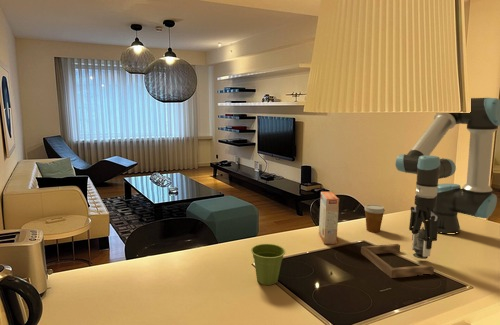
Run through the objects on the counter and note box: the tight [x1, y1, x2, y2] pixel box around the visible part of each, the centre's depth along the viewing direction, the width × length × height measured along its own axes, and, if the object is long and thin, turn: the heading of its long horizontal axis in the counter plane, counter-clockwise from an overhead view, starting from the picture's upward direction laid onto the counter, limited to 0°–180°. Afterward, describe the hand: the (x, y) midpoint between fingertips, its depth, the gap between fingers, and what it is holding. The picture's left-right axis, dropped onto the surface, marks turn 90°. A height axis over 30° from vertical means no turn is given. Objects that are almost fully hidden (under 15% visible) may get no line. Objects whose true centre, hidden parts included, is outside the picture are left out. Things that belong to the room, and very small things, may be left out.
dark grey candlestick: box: [412, 226, 429, 260], centre depth 142 cm, size 6×6×12 cm
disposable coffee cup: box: [364, 204, 386, 233], centre depth 177 cm, size 10×10×12 cm
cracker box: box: [318, 191, 340, 245], centre depth 164 cm, size 14×6×21 cm, turn 179°
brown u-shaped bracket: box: [360, 243, 435, 279], centre depth 141 cm, size 17×22×3 cm
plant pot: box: [250, 243, 286, 286], centre depth 125 cm, size 12×12×11 cm
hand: (420, 252), depth 142 cm, fingers closed on dark grey candlestick, 6 cm apart
